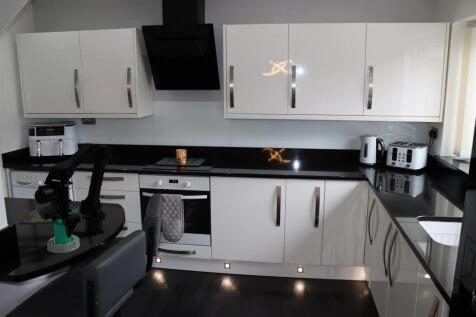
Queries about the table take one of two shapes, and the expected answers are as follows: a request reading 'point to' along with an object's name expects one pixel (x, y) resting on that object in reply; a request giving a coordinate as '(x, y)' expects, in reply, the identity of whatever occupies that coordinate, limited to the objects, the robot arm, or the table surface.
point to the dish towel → (35, 218)
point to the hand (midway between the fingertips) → (63, 234)
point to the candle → (60, 233)
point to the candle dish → (63, 245)
